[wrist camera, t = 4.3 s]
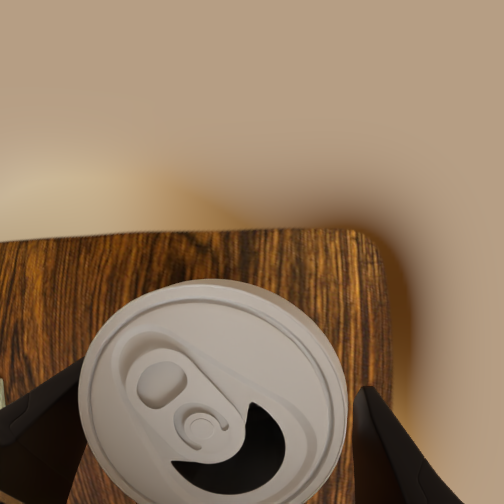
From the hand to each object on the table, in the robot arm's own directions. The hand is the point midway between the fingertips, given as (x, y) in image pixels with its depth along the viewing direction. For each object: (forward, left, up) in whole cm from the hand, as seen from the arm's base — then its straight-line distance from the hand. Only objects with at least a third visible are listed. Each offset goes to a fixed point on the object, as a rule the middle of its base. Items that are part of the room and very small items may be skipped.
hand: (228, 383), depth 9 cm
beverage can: (0, 0, -8) cm, 8 cm away
